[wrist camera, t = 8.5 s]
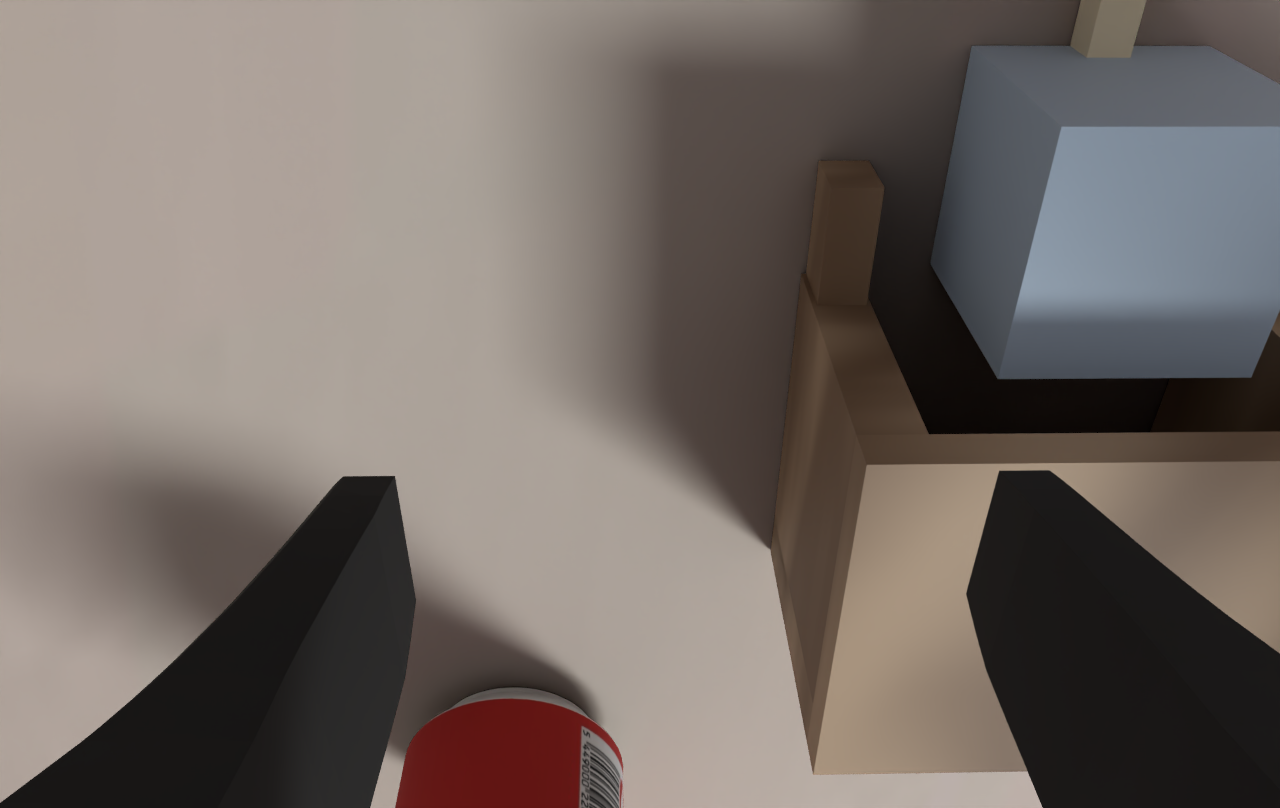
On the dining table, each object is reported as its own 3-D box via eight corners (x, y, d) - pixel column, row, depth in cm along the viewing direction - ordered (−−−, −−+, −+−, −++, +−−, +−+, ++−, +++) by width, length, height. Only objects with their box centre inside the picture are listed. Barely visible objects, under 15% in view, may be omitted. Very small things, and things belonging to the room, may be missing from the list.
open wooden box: (1309, 159, 20) (1569, 323, 15) (1152, 547, 26) (1296, 766, 20) (813, 160, 20) (890, 327, 14) (770, 551, 26) (813, 774, 20)
